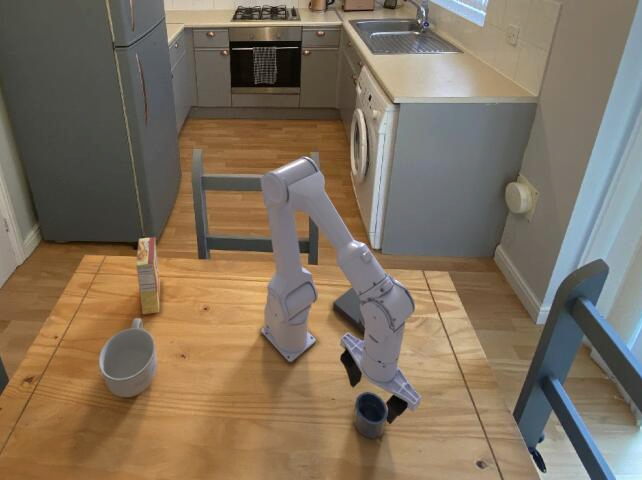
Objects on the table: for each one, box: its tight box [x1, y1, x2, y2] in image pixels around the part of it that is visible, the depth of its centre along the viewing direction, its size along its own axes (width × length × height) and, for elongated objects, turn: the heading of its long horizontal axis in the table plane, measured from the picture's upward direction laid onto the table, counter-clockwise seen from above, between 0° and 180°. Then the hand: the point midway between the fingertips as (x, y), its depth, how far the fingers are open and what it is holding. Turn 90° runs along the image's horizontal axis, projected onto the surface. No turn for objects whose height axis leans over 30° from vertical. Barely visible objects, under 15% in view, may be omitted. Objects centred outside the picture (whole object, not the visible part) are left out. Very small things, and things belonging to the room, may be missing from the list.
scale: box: [332, 286, 365, 335], centre depth 97 cm, size 12×11×4 cm
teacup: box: [98, 317, 158, 398], centre depth 85 cm, size 14×11×8 cm
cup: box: [353, 391, 388, 439], centre depth 76 cm, size 5×6×4 cm
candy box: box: [135, 236, 161, 315], centre depth 100 cm, size 9×4×15 cm, turn 9°
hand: (372, 400), depth 74 cm, fingers open, 7 cm apart
